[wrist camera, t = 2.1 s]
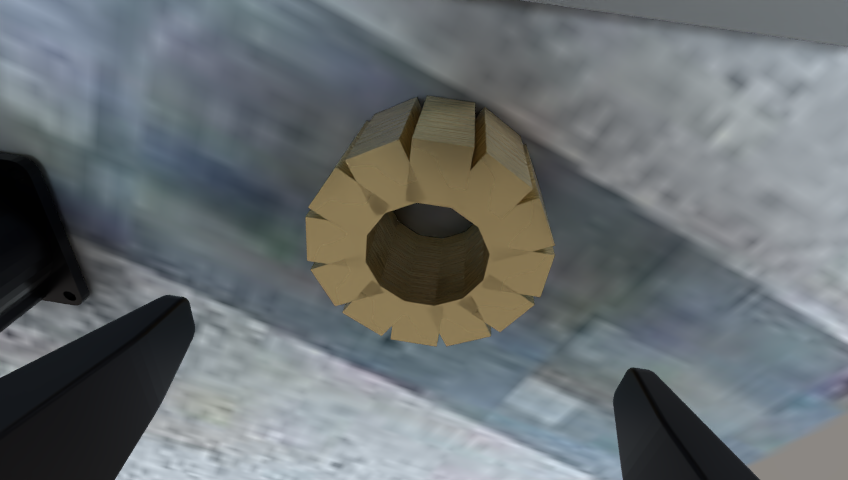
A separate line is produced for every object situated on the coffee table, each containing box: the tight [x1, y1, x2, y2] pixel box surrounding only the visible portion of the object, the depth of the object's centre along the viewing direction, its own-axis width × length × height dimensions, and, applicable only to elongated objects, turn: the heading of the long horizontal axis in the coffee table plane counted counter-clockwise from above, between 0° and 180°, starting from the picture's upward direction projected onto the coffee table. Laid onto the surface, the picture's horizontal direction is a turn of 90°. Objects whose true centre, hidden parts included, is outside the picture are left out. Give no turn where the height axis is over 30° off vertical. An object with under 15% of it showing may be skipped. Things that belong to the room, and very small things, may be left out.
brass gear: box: [306, 96, 555, 347], centre depth 13 cm, size 6×6×4 cm
